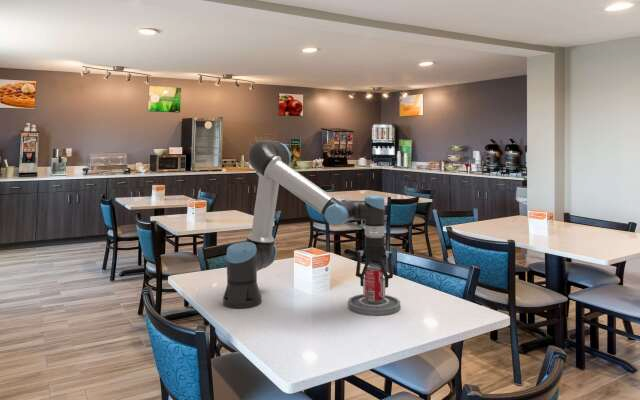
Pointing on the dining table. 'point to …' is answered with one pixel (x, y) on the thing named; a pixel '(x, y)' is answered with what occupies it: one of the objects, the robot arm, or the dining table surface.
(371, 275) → the soda can
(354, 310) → the tray
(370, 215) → the robot arm
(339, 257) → the dining table surface
